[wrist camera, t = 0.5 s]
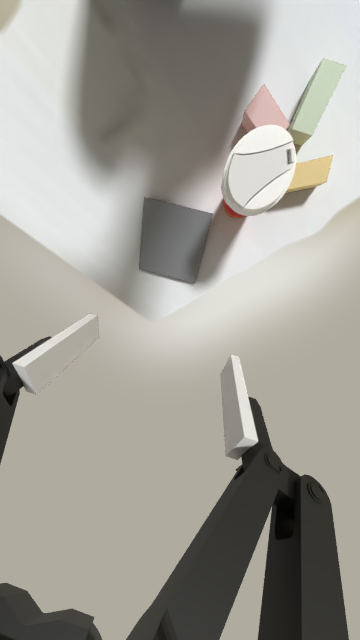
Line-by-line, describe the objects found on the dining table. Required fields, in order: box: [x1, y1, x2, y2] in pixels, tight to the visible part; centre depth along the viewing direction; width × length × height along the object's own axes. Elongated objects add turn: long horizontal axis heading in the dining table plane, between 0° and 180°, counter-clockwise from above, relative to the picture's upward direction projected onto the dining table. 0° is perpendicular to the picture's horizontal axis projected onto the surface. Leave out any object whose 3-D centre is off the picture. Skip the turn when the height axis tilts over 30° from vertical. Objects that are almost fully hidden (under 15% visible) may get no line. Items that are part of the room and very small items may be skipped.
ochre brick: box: [285, 155, 333, 193], centre depth 25 cm, size 6×3×3 cm, turn 98°
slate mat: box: [139, 197, 213, 283], centre depth 34 cm, size 14×14×1 cm
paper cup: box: [221, 125, 296, 218], centre depth 22 cm, size 8×8×14 cm
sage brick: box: [288, 58, 347, 146], centre depth 21 cm, size 6×3×3 cm, turn 164°
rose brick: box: [241, 84, 290, 133], centre depth 23 cm, size 6×3×3 cm, turn 48°
